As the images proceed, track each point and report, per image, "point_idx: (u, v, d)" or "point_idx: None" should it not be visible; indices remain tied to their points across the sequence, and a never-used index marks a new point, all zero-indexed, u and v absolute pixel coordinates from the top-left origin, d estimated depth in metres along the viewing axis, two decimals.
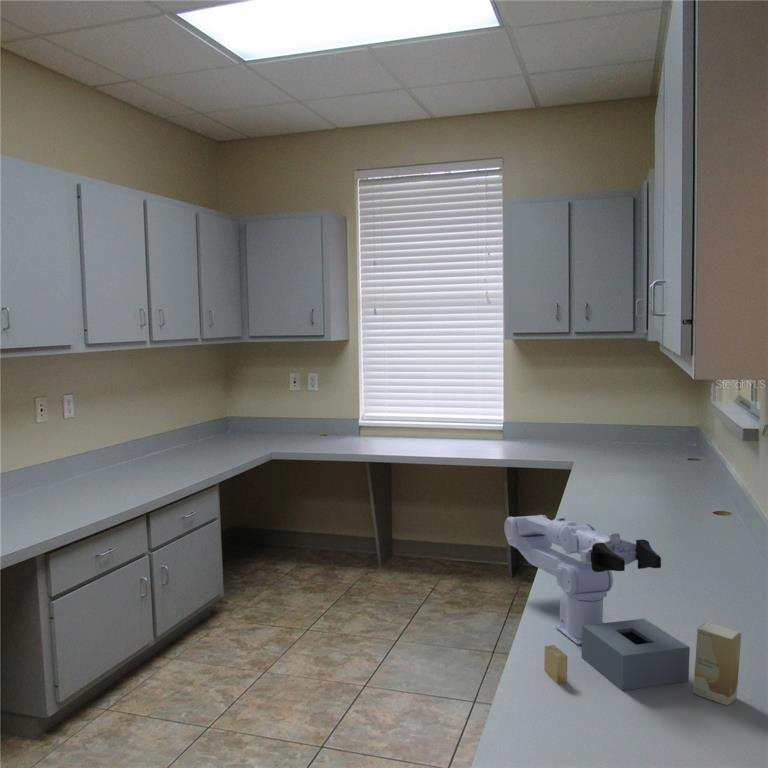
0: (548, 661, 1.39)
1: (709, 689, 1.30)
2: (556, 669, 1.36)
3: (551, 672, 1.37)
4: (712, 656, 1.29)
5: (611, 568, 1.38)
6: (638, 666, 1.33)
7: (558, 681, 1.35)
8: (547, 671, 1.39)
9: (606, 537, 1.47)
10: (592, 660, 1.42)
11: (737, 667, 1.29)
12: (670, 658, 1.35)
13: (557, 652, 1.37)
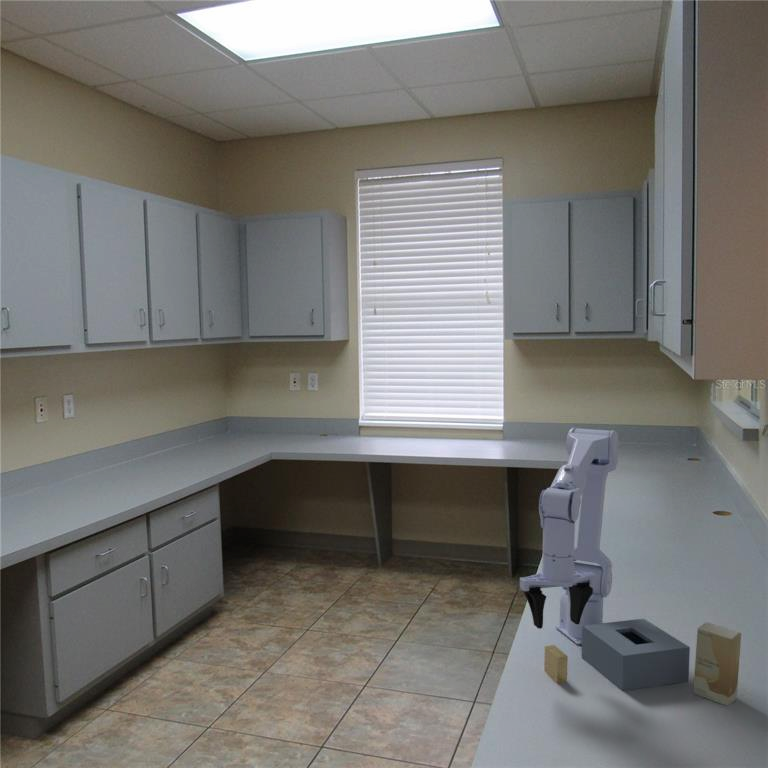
0: (548, 661, 1.39)
1: (709, 689, 1.30)
2: (556, 669, 1.36)
3: (551, 672, 1.37)
4: (712, 656, 1.29)
5: (532, 609, 1.37)
6: (638, 666, 1.33)
7: (558, 681, 1.35)
8: (547, 671, 1.39)
9: (562, 572, 1.34)
10: (592, 660, 1.42)
11: (737, 667, 1.29)
12: (670, 658, 1.35)
13: (557, 652, 1.37)
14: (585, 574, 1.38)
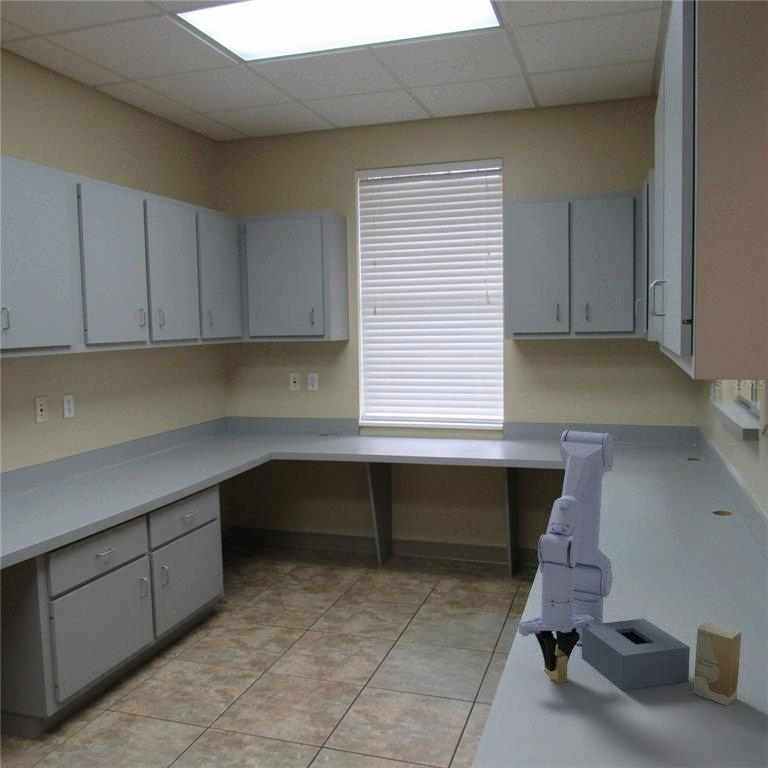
0: None
1: (709, 689, 1.30)
2: (556, 669, 1.36)
3: (551, 672, 1.37)
4: (712, 656, 1.29)
5: (543, 652, 1.38)
6: (638, 666, 1.33)
7: (558, 681, 1.35)
8: (547, 671, 1.39)
9: (561, 617, 1.34)
10: (592, 660, 1.42)
11: (737, 667, 1.29)
12: (670, 658, 1.35)
13: (557, 652, 1.37)
14: (584, 618, 1.39)
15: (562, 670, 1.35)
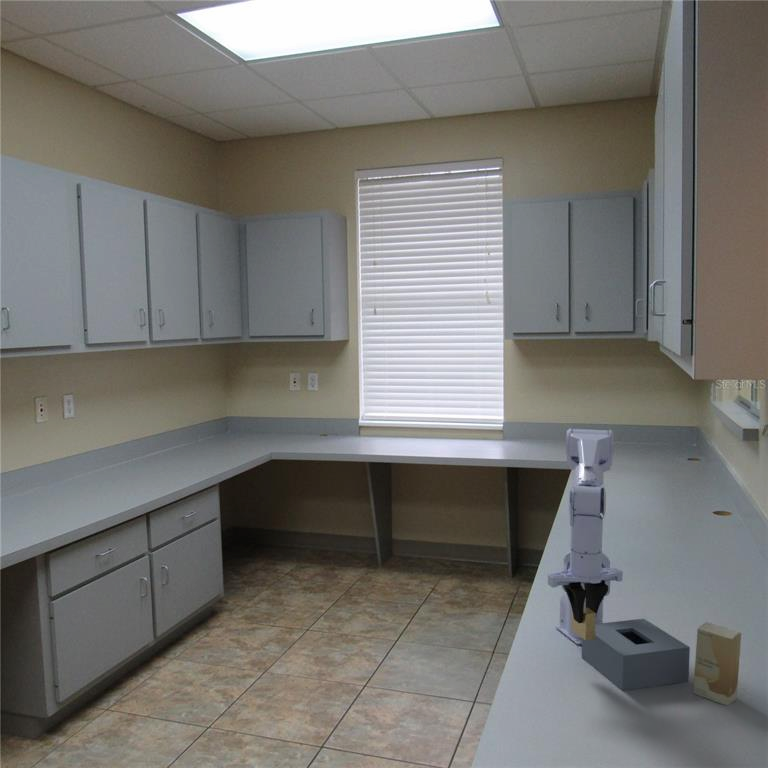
0: None
1: (709, 689, 1.30)
2: (584, 626, 1.36)
3: (579, 630, 1.38)
4: (712, 656, 1.29)
5: (572, 604, 1.39)
6: (638, 666, 1.33)
7: (586, 638, 1.36)
8: (575, 629, 1.40)
9: (590, 569, 1.35)
10: (592, 660, 1.42)
11: (737, 667, 1.29)
12: (670, 658, 1.35)
13: (585, 609, 1.38)
14: (612, 571, 1.39)
15: (590, 627, 1.36)
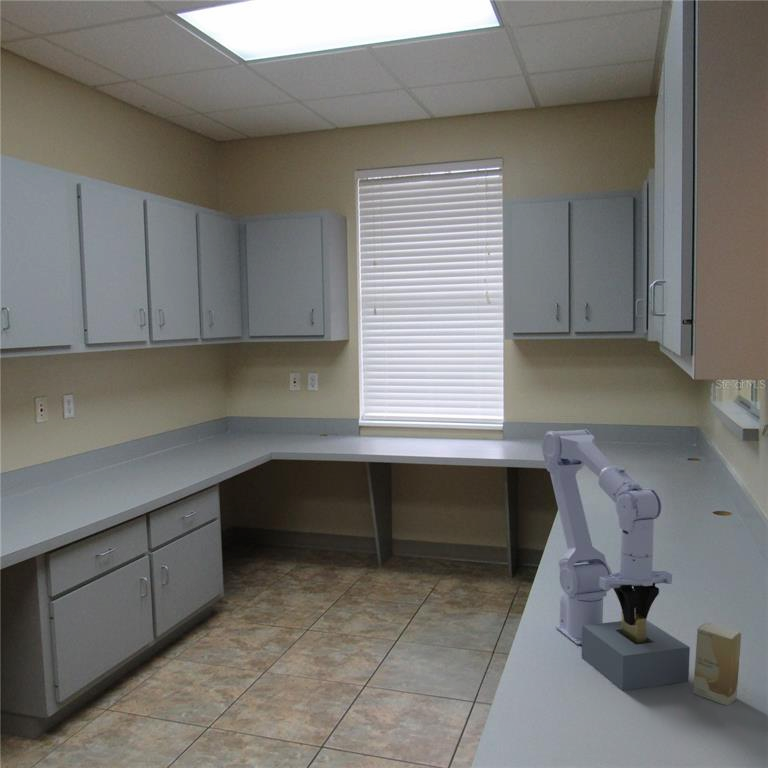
0: (626, 625, 1.42)
1: (709, 689, 1.30)
2: (635, 631, 1.39)
3: (630, 636, 1.40)
4: (712, 656, 1.29)
5: (622, 607, 1.41)
6: (638, 666, 1.33)
7: (638, 643, 1.38)
8: (625, 636, 1.42)
9: (642, 571, 1.37)
10: (592, 660, 1.42)
11: (737, 667, 1.29)
12: (670, 658, 1.35)
13: (635, 615, 1.40)
14: (662, 573, 1.41)
15: (641, 633, 1.39)
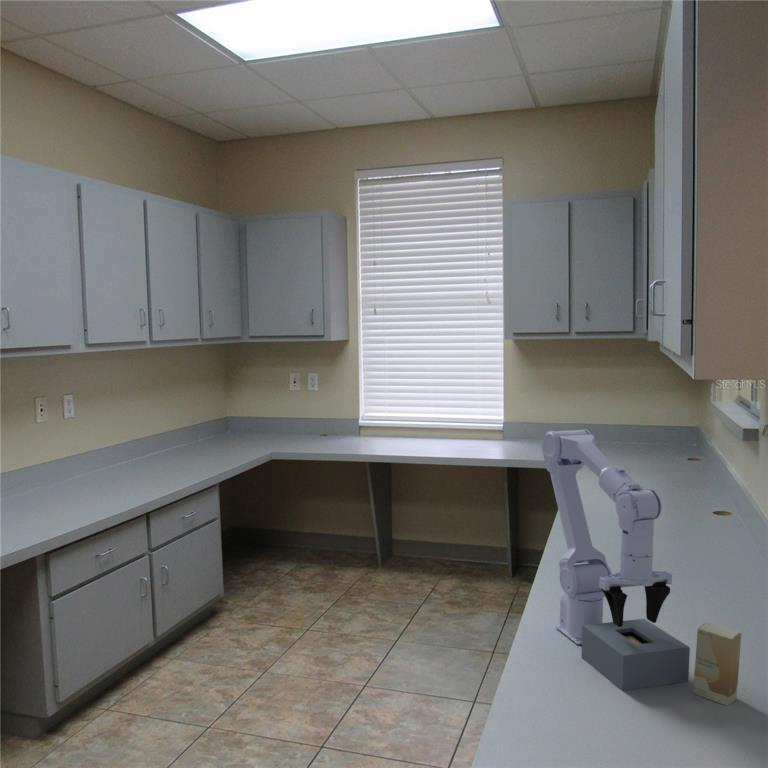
0: None
1: (709, 689, 1.30)
2: None
3: None
4: (712, 656, 1.29)
5: (611, 608, 1.40)
6: (638, 666, 1.33)
7: None
8: None
9: (642, 572, 1.37)
10: (592, 660, 1.42)
11: (737, 667, 1.29)
12: (670, 658, 1.35)
13: (636, 642, 1.40)
14: (662, 574, 1.41)
15: None
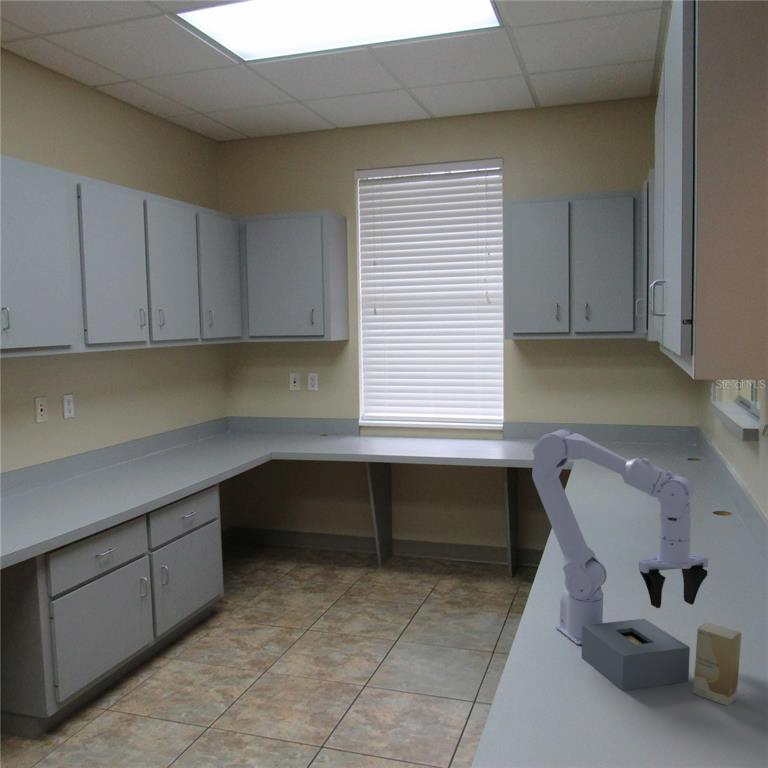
0: None
1: (709, 689, 1.30)
2: None
3: None
4: (712, 656, 1.29)
5: (649, 590, 1.46)
6: (638, 666, 1.33)
7: None
8: None
9: (680, 555, 1.43)
10: (592, 660, 1.42)
11: (737, 667, 1.29)
12: (670, 658, 1.35)
13: (636, 642, 1.40)
14: (698, 557, 1.47)
15: None
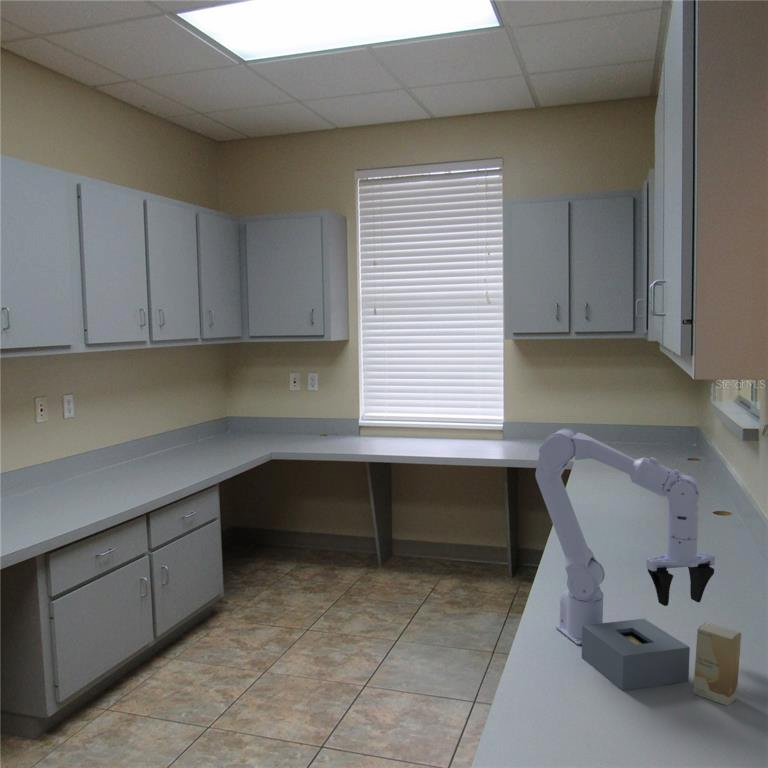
0: None
1: (709, 689, 1.30)
2: None
3: None
4: (712, 656, 1.29)
5: (656, 588, 1.48)
6: (638, 666, 1.33)
7: None
8: None
9: (688, 553, 1.44)
10: (592, 660, 1.42)
11: (737, 667, 1.29)
12: (670, 658, 1.35)
13: (636, 642, 1.40)
14: (705, 556, 1.49)
15: None
